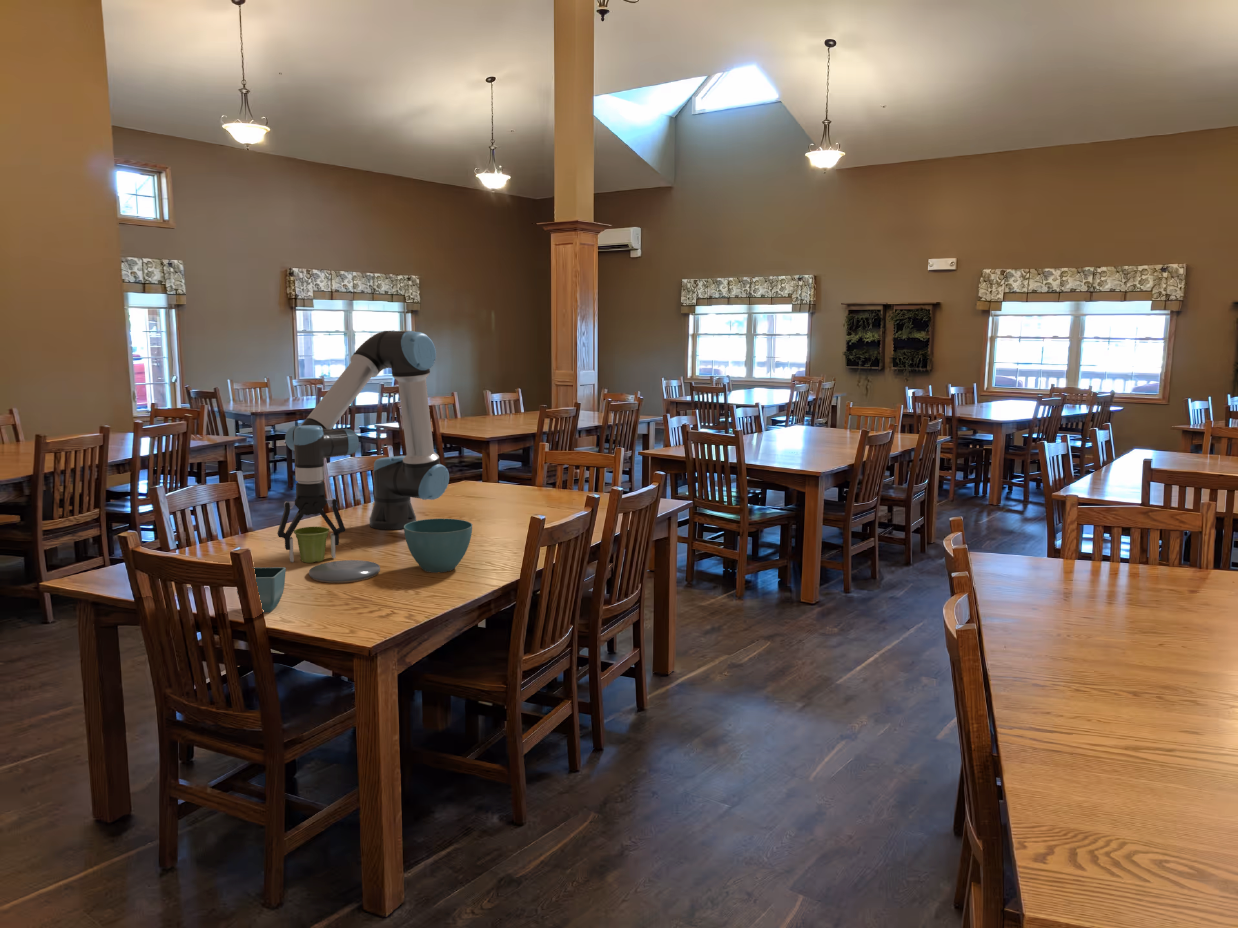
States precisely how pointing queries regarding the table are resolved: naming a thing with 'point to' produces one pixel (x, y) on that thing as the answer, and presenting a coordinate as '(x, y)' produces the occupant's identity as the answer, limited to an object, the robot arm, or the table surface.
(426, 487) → the robot arm
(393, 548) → the table surface
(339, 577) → the trivet
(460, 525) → the teal bowl
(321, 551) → the plant pot
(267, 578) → the flower pot
